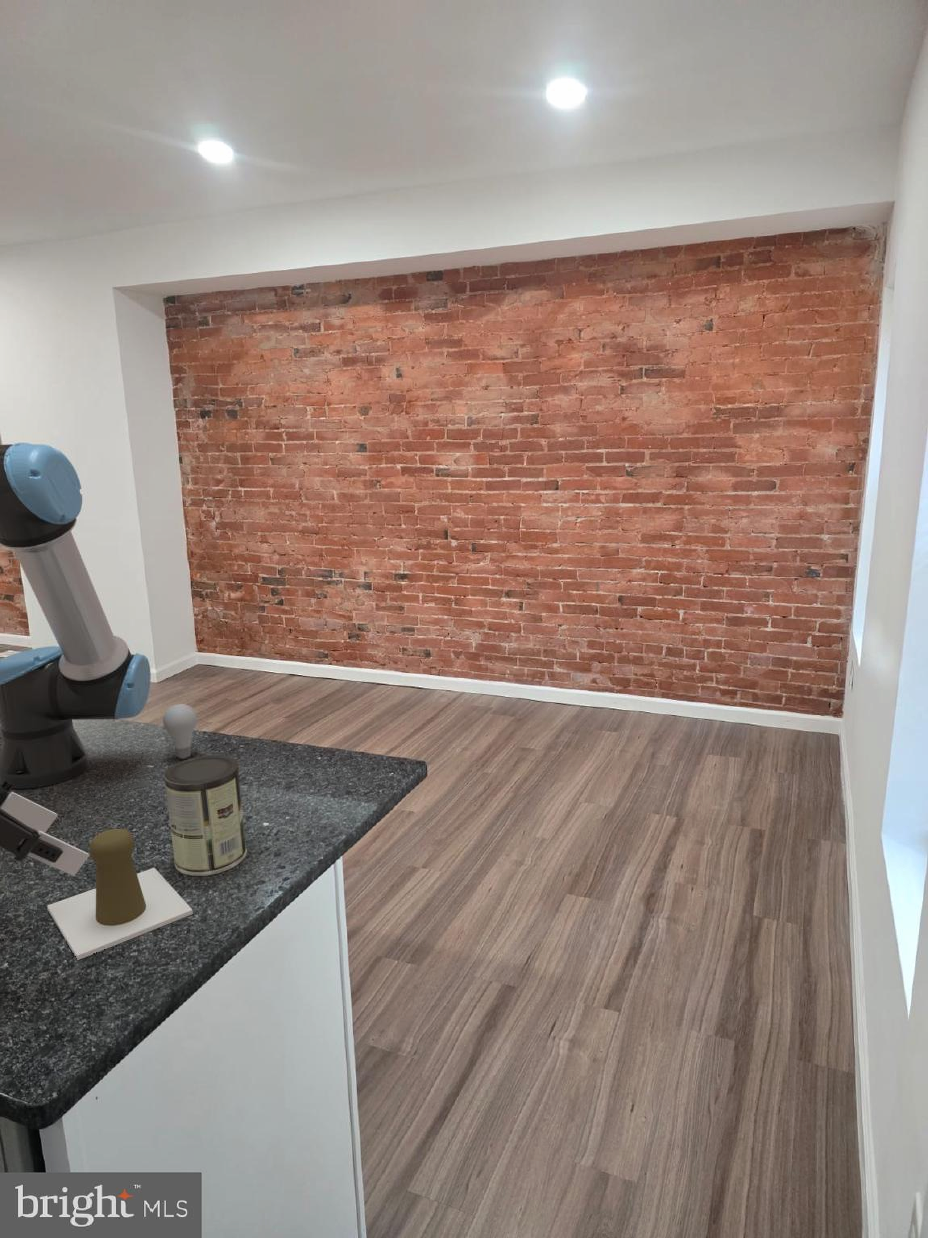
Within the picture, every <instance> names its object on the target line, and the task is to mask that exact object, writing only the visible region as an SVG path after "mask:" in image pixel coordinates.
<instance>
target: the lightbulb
mask: <svg viewBox="0 0 928 1238" xmlns="http://www.w3.org/2000/svg"><path fill="white" fill-rule="evenodd" d="M163 714H164V715H163V718H162V724H163V727H164V728H165V730H166V731H167V733H168V734H169V735H170V737H171V739H172V741H173V745H174V748H175V750H176V756H177V758H179V759H181V760H187V759H188V758H189V757H190V756H191V755H192V754H191V751H192V749H191V746H192V737H193V732H194V730H195V729H196V725H197V723H198V716H197V713H196V711H195V710H194V708H192V707H191V706H190V705H187V704H184V703H177V704H173V705H172V706H170V707H169V708H167V710H166V711H165V712H164V713H163Z"/></svg>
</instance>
